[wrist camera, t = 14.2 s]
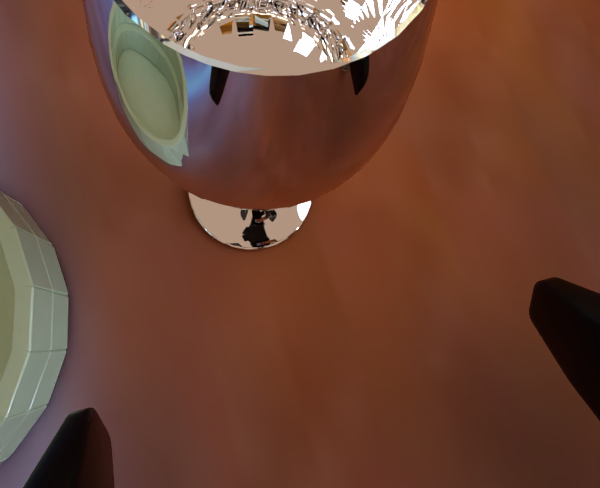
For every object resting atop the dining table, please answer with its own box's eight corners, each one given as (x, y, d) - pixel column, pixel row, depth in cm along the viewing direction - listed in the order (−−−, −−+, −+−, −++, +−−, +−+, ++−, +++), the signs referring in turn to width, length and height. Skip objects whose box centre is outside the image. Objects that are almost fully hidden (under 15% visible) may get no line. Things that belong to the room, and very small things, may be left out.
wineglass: (358, 166, 19) (558, -132, 7) (279, 300, 17) (356, 215, 6) (225, 85, 19) (196, -350, 7) (135, 213, 17) (-86, -51, 6)
